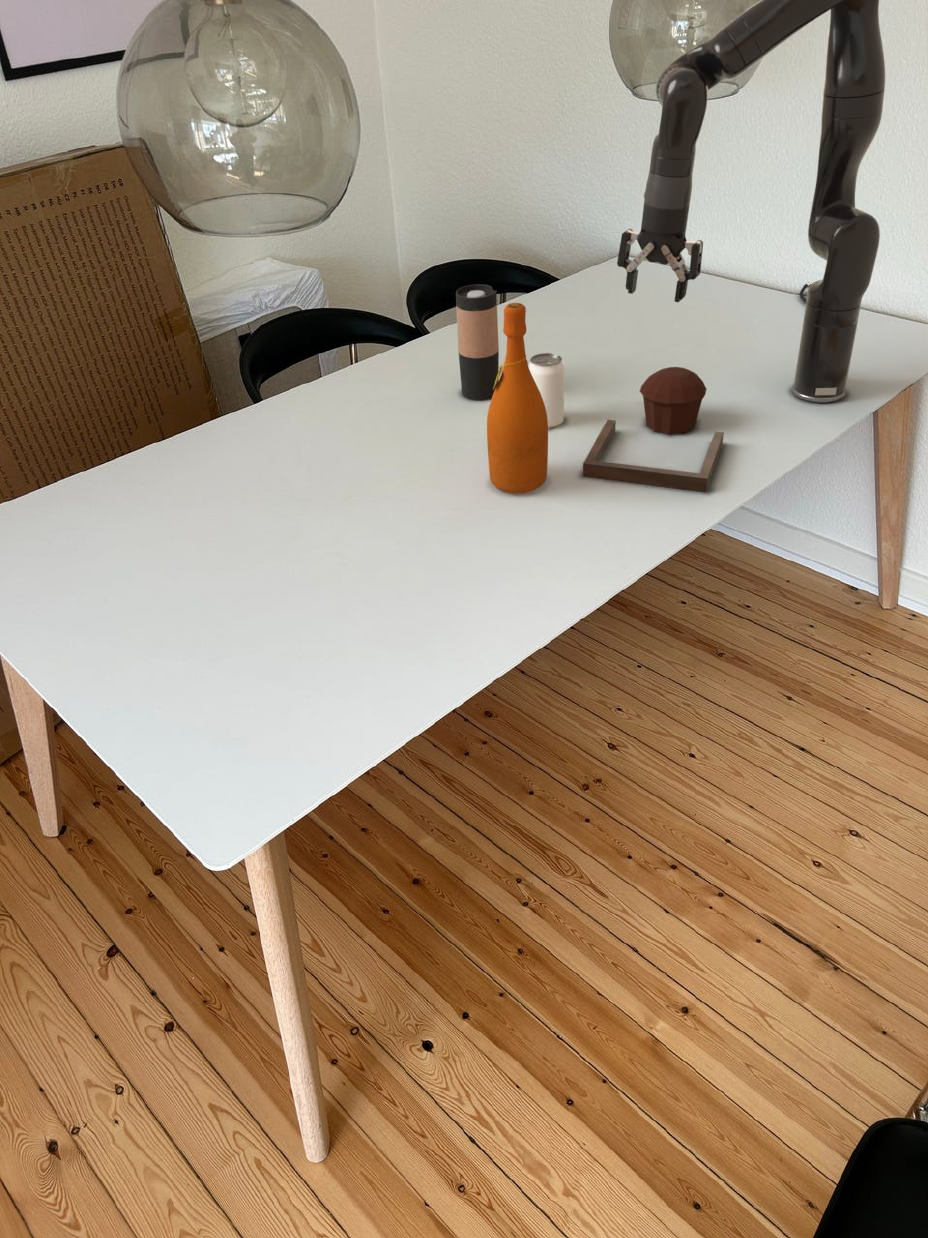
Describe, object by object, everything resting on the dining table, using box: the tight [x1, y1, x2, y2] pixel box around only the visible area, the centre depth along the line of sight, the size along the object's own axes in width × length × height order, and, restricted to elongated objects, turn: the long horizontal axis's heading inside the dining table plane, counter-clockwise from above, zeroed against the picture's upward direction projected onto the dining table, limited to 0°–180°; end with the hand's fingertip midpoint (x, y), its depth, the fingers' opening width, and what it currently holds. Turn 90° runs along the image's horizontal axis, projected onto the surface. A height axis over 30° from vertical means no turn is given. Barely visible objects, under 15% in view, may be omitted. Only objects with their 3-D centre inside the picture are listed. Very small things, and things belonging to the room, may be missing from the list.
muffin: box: [639, 366, 707, 436], centre depth 181 cm, size 12×11×10 cm
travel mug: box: [455, 284, 500, 401], centre depth 193 cm, size 8×8×20 cm
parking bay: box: [582, 419, 725, 493], centre depth 172 cm, size 17×20×2 cm
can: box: [528, 352, 565, 429], centre depth 184 cm, size 6×6×12 cm
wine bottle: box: [486, 302, 549, 494], centre depth 161 cm, size 10×10×30 cm
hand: (654, 296), depth 179 cm, fingers open, 8 cm apart
